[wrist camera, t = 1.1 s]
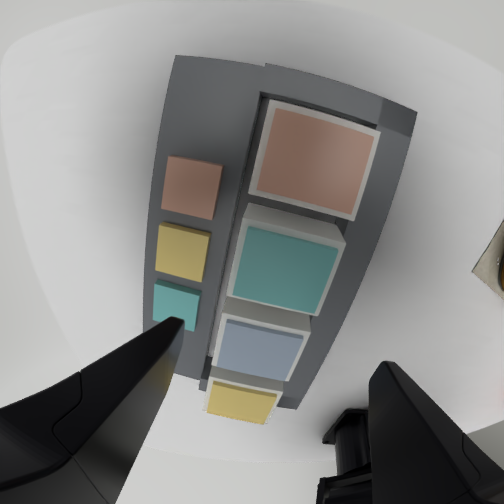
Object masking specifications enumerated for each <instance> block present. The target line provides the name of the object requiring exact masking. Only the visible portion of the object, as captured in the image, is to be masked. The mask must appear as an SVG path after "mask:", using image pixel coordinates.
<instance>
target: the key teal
mask: <svg viewBox="0 0 504 504" xmlns="http://www.w3.org/2000/svg"><path fill="white" fill-rule="evenodd" d="M345 246H346V242H345V240H344V238H343V236H342V234H341V232H340V230H339V228H338V227H337V225H335V224H331V223H328V222H324V221H320V220H316V219H313V218H309V217H305V216H301V215H297V214H293V213H290V212H286V211H282V210H278V209H274V208H270V207H266V206H261V205H257V204H253V203H248V206H247V208H246V210H245V213H244V215H243V218H242V222H241V227H240V231H239V236H238V240H237V245H236V249H235V254H234V259H233V263H232V268H231V273H230V277H229V282H228V287H227V291H226V296H230V297H234V298H238V299H242V300H247V301H251V302H255V303H259V304H264V305H268V306H272V307H277V308H281V309H286V310H290V311H295V312H299V313H304V314H309V315H313V316H318V315H319V313H320V310H321V308H322V305H323V303H324V300H325V298H326V296H327V293H328V291H329V288H330V285H331V283H332V280H333V278H334V275H335V273H336V270H337V267H338V265H339V262H340V259H341V257H342V254H343V251H344V248H345Z"/></svg>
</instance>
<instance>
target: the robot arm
mask: <svg viewBox="0 0 504 504" xmlns="http://www.w3.org/2000/svg"><path fill="white" fill-rule="evenodd" d="M184 329H185V320H184V319H181V318H178V317H174V316H170V317H168V318H167V319H165V320H163V321H162V322H160V323H158V324H157V325H155V326H153V327H152V328H150V329H148V330H147V331H145V332H143V333H142V334H140V335H138V336H137V337H135V338H133V339H132V340H130V341H128V342H127V343H125V344H123V345H122V346H120V347H118V348H117V349H115V350H113V351H112V352H110V353H108V354H107V355H105V356H103V357H102V358H100V359H98V360H97V361H95V362H93V363H92V364H90V365H88V366H87V367H85V368H83V369H82V370H81V371H80V372H79V371H78V372H76V373H75V374H73V375H71V376H69V377H68V378H66V379H64V380H62V381H60V382H59V383H57V384H55V385H53V386H51V387H49V388H47V389H45V390H43V391H40V392H38V393H36V394H34V395H31V396H29V397H27V398H24V399H22V400H19V401H17V402H15V403H12V404H10V405H7V406H5V407H2V408H0V504H115V503H116V501H117V499H118V496H119V494H120V492H121V490H122V488H123V486H124V483H125V481H126V479H127V477H128V474H129V472H130V470H131V468H132V466H133V464H134V462H135V459H136V457H137V455H138V453H139V450H140V448H141V447H142V444H143V442H144V440H145V438H146V436H147V434H148V432H149V430H150V427H151V425H152V423H153V421H154V419H155V417H156V415H157V413H158V410H159V408H160V406H161V404H162V402H163V400H164V398H165V396H166V393H167V391H168V388H169V385H170V382H171V379H172V376H173V373H174V370H175V367H176V364H177V361H178V358H179V355H180V351H181V348H182V345H183V338H184ZM322 443H323V444H332V445H335V451H336V463H337V476H333V477H327V478H326V477H323V478H320V483H319V484H318V490H317V499H316V504H504V470H503V469H501V467H499V466H498V465H497V464H496V463H495V462H494V461H493V460H491V459H490V458H489V457H488V456H487V455H486V454H485V453H484V452H483V451H482V450H481V449H480V448H479V447H478V446H477V445H476V444H475V443H474V442H473V441H472V440H471V439H470V438H469V437H468V436H467V435H466V434H465V433H464V432H463V431H462V430H461V429H460V428H459V427H458V426H457V425H456V424H455V423H454V422H453V420H452V419H451V418H450V417H449V416H448V415H447V414H446V413H445V412H444V411H443V410H442V409H441V408H440V407H439V406H438V405H437V404H436V403H435V402H434V401H433V400H432V399H431V398H430V397H429V396H428V395H427V394H426V393H425V392H424V391H423V390H422V389H421V388H420V387H419V386H418V385H417V384H416V383H415V382H414V381H413V380H412V379H411V378H410V377H409V376H408V375H407V374H406V373H405V372H404V371H403V370H402V369H401V368H400V367H399V366H398V365H397V364H396V363H395V362H392V361H382V362H381V363H380V365H379V366H378V368H377V369H376V371H375V372H374V374H373V375H372V377H371V378H370V381H369V411H363V410H346V411H345V412H344V413H343V414H342V415H341V417H340V418H339V419H338V420H337V422H336V423H335V424H334V426H333V427H332V428H331V429H330V430H329V432H328V433H327V434H326V435H325V437H324V438H323V439H322Z"/></svg>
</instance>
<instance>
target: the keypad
mask: <svg viewBox="0 0 504 504" xmlns="http://www.w3.org/2000/svg"><path fill="white" fill-rule="evenodd" d="M262 96H264V97H268V98H273V99H277V100H282V101H286V102H290V103H294V104H298V105H302V106H305V107H309V108H313V109H316V110H320V111H323V112H327V113H330V114H333V115H337V116H340V117H343V118H346V119H349V120H352V121H355V122H358V123H361V124H364V126H365V127H368V128H371V129H374V130H376V131H379V132H381V133H380V137H379V141H378V145H377V148H376V152H375V155H374V159H373V162H372V166H371V169H370V173H369V176H368V179H367V183H366V186H365V189H364V192H363V195H362V199H361V202H360V205H359V208H358V211H357V214H356V217H355V220H354V221H351V220H347V219H344V218H340V217H337V219H336V222H335V225H337V227H338V228H339V230H340V232H341V234H342V236H343V238H344V240H345V242H346V246H345V248H344V251H343V254H342V257H341V259H340V262H339V265H338V267H337V270H336V273H335V275H334V278H333V280H332V283H331V285H330V288H329V291H328V293H327V296H326V298H325V300H324V303H323V305H322V308H321V310H320V313H319V315H318V316H313V315H309V318H310V327H311V334H310V336H309V338H308V340H307V343H306V345H305V347H304V349H303V352H302V354H301V356H300V358H299V360H298V362H297V365H296V367H295V369H294V371H293V373H292V375H291V377H290V379H289V381H284V387H283V394H282V396H281V398H280V400H279V402H278V404H277V407H283V408H289V409H297V408H298V406H299V404H300V403H301V401H302V399H303V398H304V396H305V394H306V392H307V391H308V389H309V387H310V385H311V384H312V382H313V380H314V378H315V376H316V375H317V373H318V371H319V369H320V367H321V365H322V363H323V361H324V360H325V358H326V356H327V354H328V352H329V350H330V348H331V346H332V344H333V342H334V340H335V338H336V336H337V334H338V332H339V330H340V328H341V326H342V324H343V322H344V320H345V317H346V315H347V313H348V311H349V309H350V307H351V304H352V302H353V300H354V298H355V296H356V293H357V291H358V289H359V286H360V284H361V282H362V279H363V277H364V275H365V272H366V270H367V268H368V265H369V263H370V260H371V258H372V255H373V253H374V250H375V248H376V245H377V242H378V240H379V237H380V234H381V232H382V229H383V226H384V223H385V221H386V218H387V215H388V212H389V209H390V206H391V203H392V200H393V197H394V194H395V191H396V188H397V185H398V182H399V179H400V175H401V172H402V169H403V165H404V162H405V159H406V155H407V151H408V148H409V144H410V140H411V137H412V133H413V129H414V125H415V121H416V116H417V112H416V111H414V110H412V109H409V108H407V107H405V106H403V105H400V104H398V103H395V102H393V101H391V100H388V99H386V98H383V97H381V96H378V95H375V94H373V93H370V92H367V91H365V90H362V89H359V88H356V87H353V86H350V85H347V84H344V83H341V82H338V81H335V80H331V79H328V78H325V77H321V76H318V75H314V74H310V73H306V72H303V71H299V70H294V69H290V68H286V67H282V66H277V65H272V64H267V63H266V64H265V67H263V66H258V65H253V64H247V63H241V62H235V61H228V60H220V59H212V58H203V57H193V56H180V55H175V59H174V63H173V68H172V72H171V76H170V80H169V85H168V89H167V94H166V99H165V104H164V109H163V114H162V119H161V125H160V131H159V136H158V142H157V149H156V155H155V162H154V169H153V177H152V185H151V193H150V202H149V212H148V222H147V234H146V248H145V265H144V289H143V332H145V331H147V330H148V329H150V328H152V327H153V326H155V325H157V324H158V323H160V322H162V321H163V320H165V319H167V318H168V317H170V316H174V317H178V318H181V319H184V320H185V329H184V338H183V345H182V348H181V351H180V355H179V358H178V361H177V364H176V367H175V370H174V373H175V374H179V375H182V376H186V377H189V378H193V379H197V380H200V384H199V390H202V391H206V390H207V384H208V379H209V375H210V371H211V368H212V365H211V364H212V359H213V358H211V357H208V356H207V355H208V349H209V344H210V339H211V333H212V328H213V323H214V317H215V312H216V307H217V302H218V297H219V292H220V287H221V282H222V277H223V272H224V267H225V262H226V257H227V252H228V247H229V242H230V237H231V233H232V228H233V223H234V218H235V214H236V209H237V204H238V200H239V195H240V190H241V186H242V181H243V177H244V172H245V168H246V163H247V159H248V154H249V150H250V146H251V141H252V137H253V133H254V128H255V124H256V120H257V116H258V111H259V107H260V103H261V99H262Z"/></svg>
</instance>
